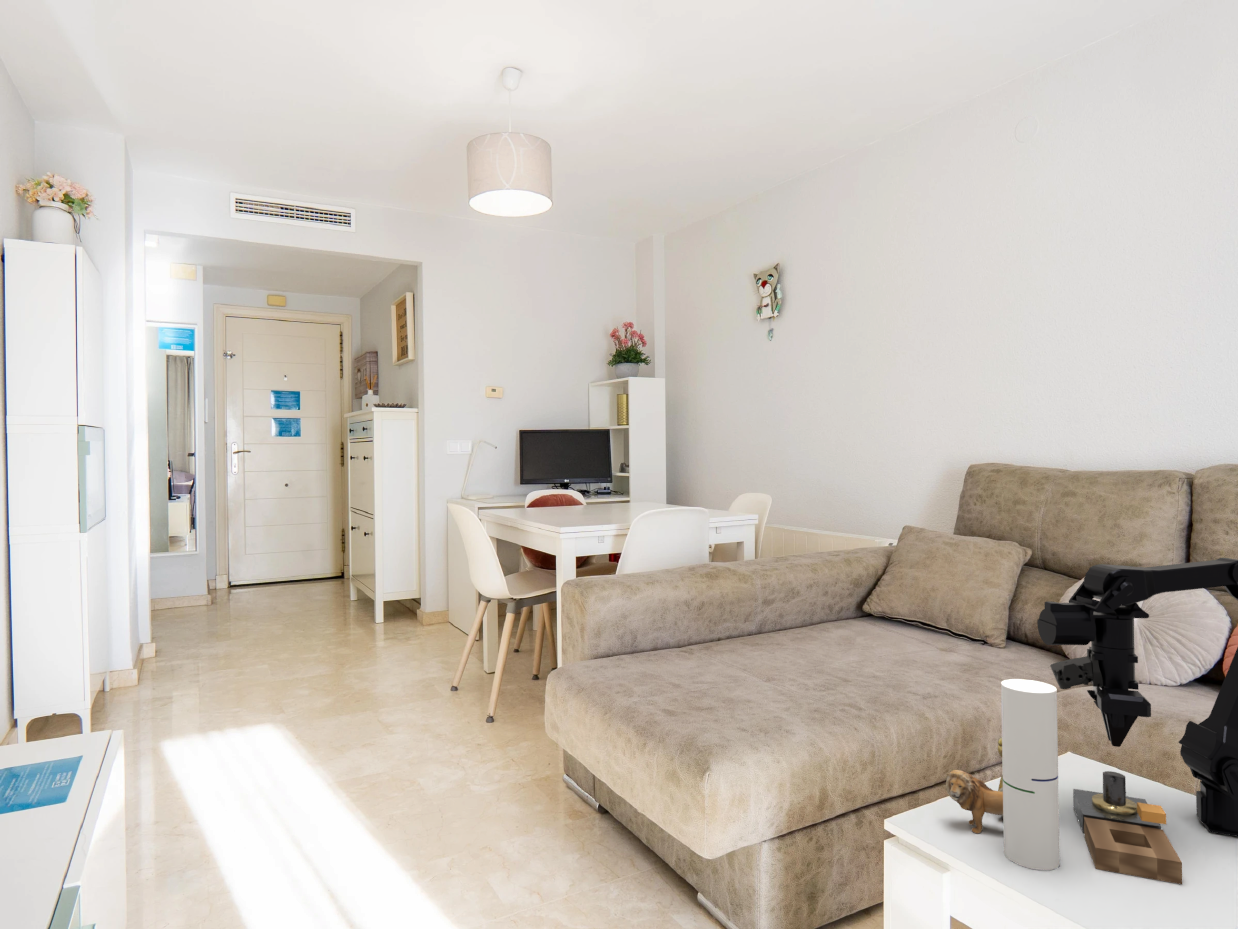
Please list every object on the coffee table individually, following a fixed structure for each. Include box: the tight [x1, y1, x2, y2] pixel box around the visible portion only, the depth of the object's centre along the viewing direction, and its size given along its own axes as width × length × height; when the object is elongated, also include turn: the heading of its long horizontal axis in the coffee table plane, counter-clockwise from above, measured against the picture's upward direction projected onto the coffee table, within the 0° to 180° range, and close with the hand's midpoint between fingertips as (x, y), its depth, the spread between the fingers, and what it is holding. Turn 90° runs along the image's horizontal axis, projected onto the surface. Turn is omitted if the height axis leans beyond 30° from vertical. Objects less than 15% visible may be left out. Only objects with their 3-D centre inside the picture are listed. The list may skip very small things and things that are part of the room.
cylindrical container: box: [1000, 678, 1061, 871], centre depth 107 cm, size 7×7×25 cm
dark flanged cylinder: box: [1092, 770, 1137, 815], centre depth 116 cm, size 6×6×8 cm
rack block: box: [1083, 817, 1183, 885], centre depth 106 cm, size 10×10×3 cm
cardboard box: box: [1137, 802, 1167, 825], centre depth 110 cm, size 3×3×2 cm
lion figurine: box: [945, 769, 1003, 834], centre depth 114 cm, size 15×5×9 cm, turn 69°
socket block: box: [1072, 788, 1162, 835], centre depth 116 cm, size 10×10×3 cm
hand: (1114, 743), depth 116 cm, fingers open, 2 cm apart
